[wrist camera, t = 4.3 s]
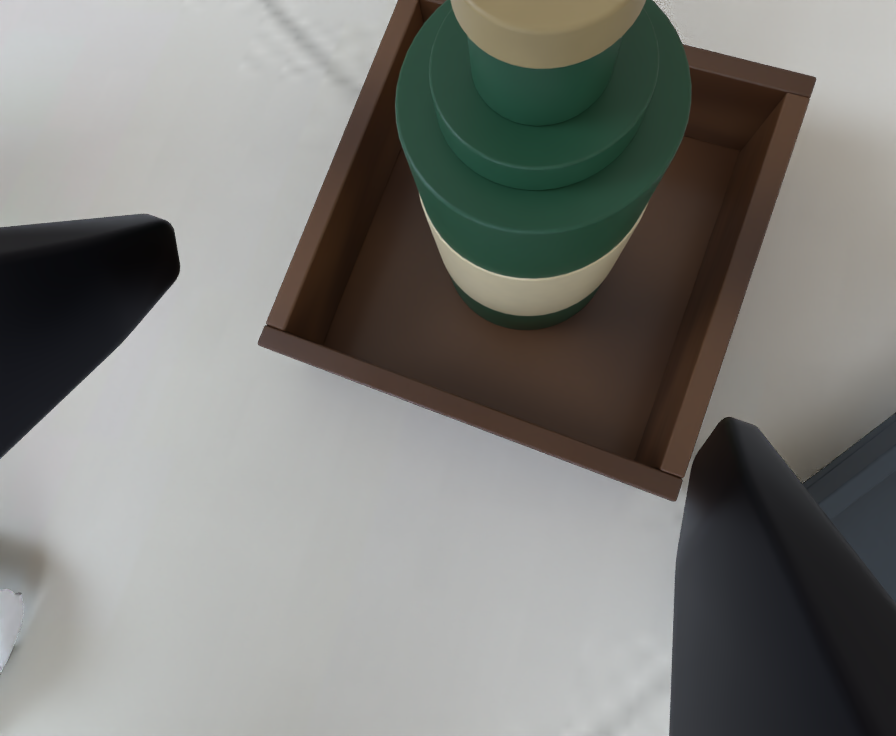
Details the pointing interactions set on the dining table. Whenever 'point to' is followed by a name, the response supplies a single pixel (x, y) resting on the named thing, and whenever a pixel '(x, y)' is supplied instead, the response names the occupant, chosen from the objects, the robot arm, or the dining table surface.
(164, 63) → the dining table surface
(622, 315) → the crate
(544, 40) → the bottle
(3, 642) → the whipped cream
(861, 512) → the tray
